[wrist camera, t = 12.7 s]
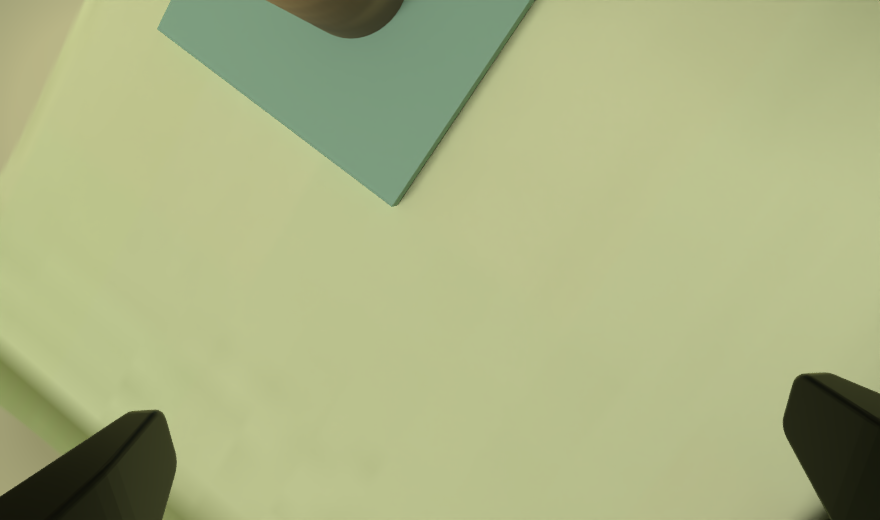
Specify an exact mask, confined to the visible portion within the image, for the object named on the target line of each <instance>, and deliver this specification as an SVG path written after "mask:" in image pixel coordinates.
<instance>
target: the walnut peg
mask: <svg viewBox="0 0 880 520" xmlns="http://www.w3.org/2000/svg"><path fill="white" fill-rule="evenodd" d="M266 1H268V2H270V3H272V4H274V5H276V6H278V7H280V8H282V9H283V10H285V11H287V12H289V13H291V14H293V15H295V16H297V17H299V18H301V19H302V20H304V21H306V22H308V23H310V24H312V25H314V26H316V27H318V28H320V29H321V30H323V31H325V32H327V33H329V34H331V35H334V36H337V37H341V38H348V39H353V38H361V37H365V36H368V35H371V34H373V33H375V32H377V31H378V30H380V29H381V28H383V27H384V26H385V25H386V24H388V23H389V22H390V21H391V20H392V18H393V17H394V16H395V15H396V13H397V12H398V10H399V9H400V7H401V5H402V3H403V1H404V0H266Z"/></svg>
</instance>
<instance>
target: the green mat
mask: <svg viewBox="0 0 880 520" xmlns="http://www.w3.org/2000/svg"><path fill="white" fill-rule="evenodd" d="M534 1H535V0H404V1H403V3H402V5H401V7H400V9H399V10H398V12H397V13H396V15H395V16H394V17H393V18H392V20H391V21H390V22H389V23H388V24H386V25H385V26H384V27H383V28H381V29H380V30H378V31H377V32H375V33H373V34H371V35H368V36H365V37H361V38H353V39H348V38H341V37H337V36H334V35H331V34H329V33H327V32H325V31H323V30H321V29H320V28H318V27H316V26H314V25H312V24H310V23H308V22H306V21H304V20H302V19H301V18H299V17H297V16H295V15H293V14H291V13H289V12H287V11H285V10H283V9H282V8H280V7H278V6H276V5H274V4H272V3H270V2H268V1H266V0H171V1H170V3H169V5H168V7H167V10H166V12H165V14H164V16H163V18H162V20H161V22H160V24H159V26H158V28H157V29H158V30H159V31H160V32H162V33H163V34H164V35H166V36H167V37H168V38H169V39H171V40H172V41H173V42H175V43H176V44H177V45H179V46H180V47H181V48H183V49H184V50H185V51H187V52H188V53H189V54H191V55H192V56H193V57H195V58H196V59H197V60H199V61H200V62H201V63H203V64H204V65H205V66H206V67H208V68H209V69H210V70H212V71H213V72H214V73H216V74H217V75H218V76H220V77H221V78H222V79H224V80H225V81H226V82H228V83H229V84H230V85H232V86H233V87H234V88H236V89H237V90H238V91H240V92H241V93H242V94H243V95H245V96H246V97H247V98H249V99H250V100H251V101H253V102H254V103H255V104H257V105H258V106H259V107H261V108H262V109H263V110H265V111H266V112H267V113H269V114H270V115H271V116H273V117H274V118H275V119H277V120H278V121H279V122H280V123H282V124H283V125H284V126H286V127H287V128H288V129H290V130H291V131H292V132H294V133H295V134H296V135H298V136H299V137H300V138H302V139H303V140H304V141H306V142H307V143H308V144H310V145H311V146H312V147H314V148H315V149H316V150H317V151H319V152H320V153H321V154H323V155H324V156H325V157H327V158H328V159H329V160H331V161H332V162H333V163H335V164H336V165H337V166H339V167H340V168H341V169H343V170H344V171H345V172H347V173H348V174H349V175H351V176H352V177H353V178H354V179H356V180H357V181H358V182H360V183H361V184H362V185H364V186H365V187H366V188H368V189H369V190H370V191H372V192H373V193H374V194H376V195H377V196H378V197H380V198H381V199H382V200H384V201H385V202H386V203H388V204H389V205H390V206H391V207H392V206H397V205H398V203H399V202H400V200H401V199H402V197H403V196H404V194H405V193H406V191H407V190H408V188H409V187H410V185H411V184H412V182H413V181H414V179H415V178H416V176H417V175H418V173H419V172H420V170H421V169H422V168H423V166H424V165H425V163H426V162H427V160H428V159H429V157H430V156H431V154H432V153H433V151H434V150H435V148H436V147H437V145H438V144H439V142H440V141H441V139H442V138H443V136H444V135H445V133H446V132H447V130H448V129H449V127H450V126H451V124H452V123H453V121H454V120H455V118H456V117H457V115H458V114H459V112H460V111H461V109H462V108H463V106H464V105H465V104H466V102H467V101H468V99H469V98H470V96H471V95H472V93H473V92H474V90H475V89H476V87H477V86H478V84H479V83H480V81H481V80H482V78H483V77H484V75H485V74H486V72H487V71H488V69H489V68H490V66H491V65H492V63H493V62H494V60H495V59H496V57H497V56H498V54H499V53H500V51H501V50H502V48H503V47H504V45H505V44H506V42H507V41H508V40H509V38H510V37H511V35H512V34H513V32H514V31H515V29H516V28H517V26H518V25H519V23H520V22H521V20H522V19H523V17H524V16H525V14H526V13H527V11H528V10H529V8H530V7H531V5H532V4H533V2H534Z"/></svg>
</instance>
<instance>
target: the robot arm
mask: <svg viewBox="0 0 880 520" xmlns="http://www.w3.org/2000/svg"><path fill="white" fill-rule="evenodd" d="M783 428H784V432H785V435H786V438H787V440H788V441H789V443H790V445H791V447H792V449H793V451H794V453H795V454H796V456H797V458H798V460H799V462H800V464H801V465H802V467H803V469H804V471H805V473H806V475H807V477H808V478H809V480H810V482H811V484H812V486H813V488H814V490H815V491H816V493H817V495H818V497H819V499H820V501H821V503H822V504H823V506H824V508H825V510H826V512H827V514H828V516H829V517H830V519H828V520H880V393H877V392H875V391H872V390H870V389H868V388H865V387H863V386H860V385H858V384H856V383H853V382H851V381H848V380H846V379H844V378H841V377H839V376H836V375H834V374H831V373H806V374H801V375H799V376H797V377H796V379H795V380H794V382H793V385H792V388H791V392H790V395H789V399H788V402H787V406H786V410H785V413H784V417H783ZM176 464H177V460H176V453H175V449H174V446H173V442H172V439H171V435H170V431H169V428H168V424H167V421H166V418H165V416H164V414H163V413H162V412H161V411H159V410H141V411H131V412H128V413H126V414H125V415H123V416H121V417H120V418H118V419H117V420H115V421H114V422H112V423H111V424H109V425H108V426H106V427H105V428H103V429H102V430H100V431H99V432H97V433H96V434H94V435H93V436H91V437H90V438H88V439H87V440H85V441H84V442H82V443H81V444H79V445H78V446H76V447H75V448H73V449H72V450H70V451H68V452H67V453H65V454H64V455H62V456H61V457H59V458H58V459H56V460H55V461H54V462H52V463H50V464H49V465H47V466H46V467H45V468H43V469H41V470H40V471H38V472H37V473H35V474H34V475H32V476H31V477H29V478H28V479H26V480H25V481H23V482H21V483H20V484H19V485H17V486H15V487H14V488H12V489H11V490H9V491H8V492H6V493H5V494H3V495H2V496H0V520H162V519H163V515H164V512H165V508H166V505H167V501H168V498H169V494H170V490H171V487H172V483H173V480H174V476H175V472H176Z"/></svg>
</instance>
